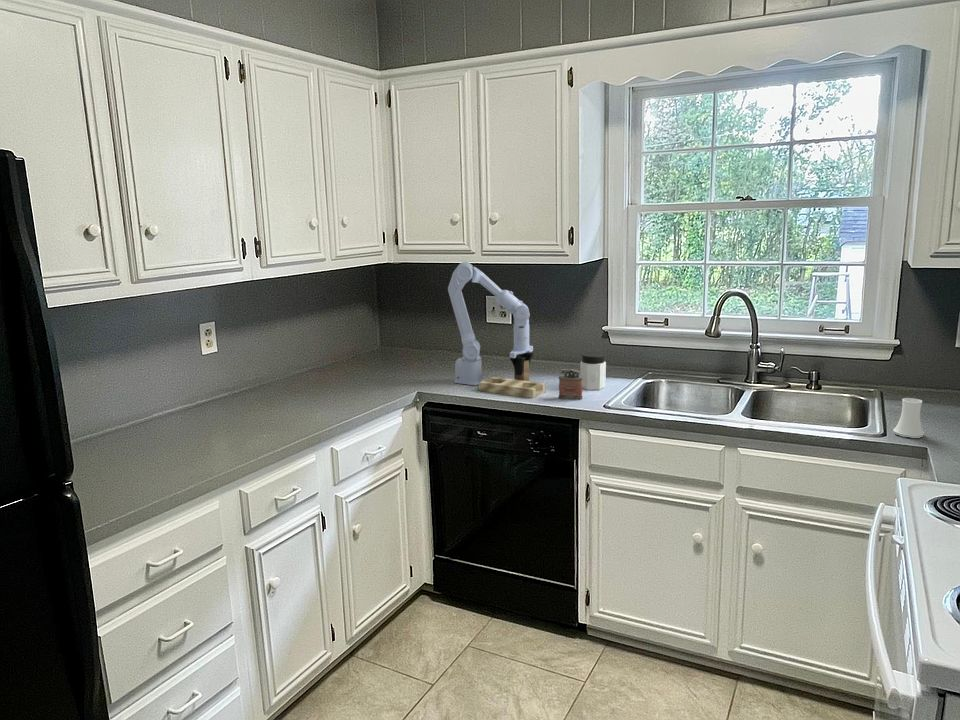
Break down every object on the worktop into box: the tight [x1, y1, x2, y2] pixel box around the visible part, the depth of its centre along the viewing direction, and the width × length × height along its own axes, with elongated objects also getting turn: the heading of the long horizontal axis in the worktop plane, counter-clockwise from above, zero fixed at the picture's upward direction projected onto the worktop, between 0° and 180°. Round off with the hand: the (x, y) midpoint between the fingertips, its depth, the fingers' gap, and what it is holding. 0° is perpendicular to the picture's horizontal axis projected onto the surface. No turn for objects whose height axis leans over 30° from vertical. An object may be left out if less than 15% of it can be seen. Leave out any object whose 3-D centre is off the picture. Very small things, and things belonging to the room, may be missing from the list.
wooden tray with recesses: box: [478, 376, 546, 399], centre depth 258 cm, size 22×10×3 cm, turn 59°
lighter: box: [558, 368, 583, 401], centre depth 247 cm, size 8×3×10 cm, turn 74°
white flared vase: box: [892, 397, 925, 436], centre depth 204 cm, size 8×8×10 cm
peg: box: [513, 360, 530, 381], centre depth 270 cm, size 4×4×8 cm
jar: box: [579, 351, 607, 391], centre depth 261 cm, size 9×8×12 cm
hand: (521, 373), depth 270 cm, fingers closed on peg, 4 cm apart
